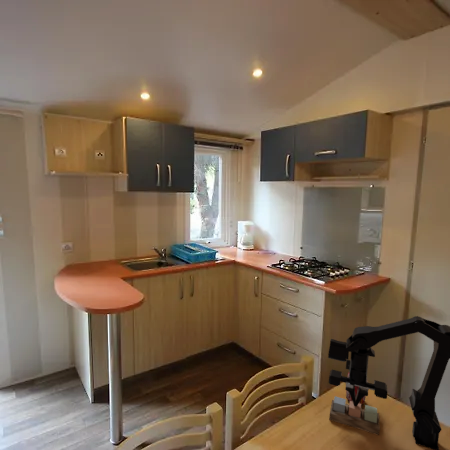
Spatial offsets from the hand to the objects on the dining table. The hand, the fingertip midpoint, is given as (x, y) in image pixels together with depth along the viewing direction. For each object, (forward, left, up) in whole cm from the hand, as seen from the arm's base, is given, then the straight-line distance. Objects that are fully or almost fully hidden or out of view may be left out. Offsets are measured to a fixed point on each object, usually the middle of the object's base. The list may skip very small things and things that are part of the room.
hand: (355, 405), depth 113 cm
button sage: (-5, 0, -3) cm, 6 cm away
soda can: (0, -12, -6) cm, 13 cm away
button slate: (+5, 0, -3) cm, 6 cm away
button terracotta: (0, 0, -3) cm, 3 cm away
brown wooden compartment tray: (0, 0, -6) cm, 6 cm away
